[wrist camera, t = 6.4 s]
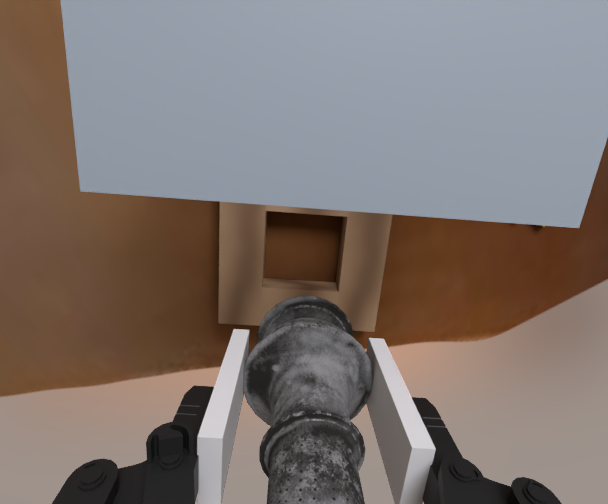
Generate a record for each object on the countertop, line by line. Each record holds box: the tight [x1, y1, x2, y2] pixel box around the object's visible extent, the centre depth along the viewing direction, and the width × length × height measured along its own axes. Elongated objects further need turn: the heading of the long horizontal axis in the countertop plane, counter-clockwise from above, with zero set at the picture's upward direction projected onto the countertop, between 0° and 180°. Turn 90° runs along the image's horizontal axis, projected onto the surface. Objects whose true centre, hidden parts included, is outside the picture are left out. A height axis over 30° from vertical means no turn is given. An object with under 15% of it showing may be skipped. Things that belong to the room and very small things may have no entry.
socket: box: [218, 202, 393, 332], centre depth 34 cm, size 16×20×3 cm
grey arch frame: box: [61, 0, 608, 228], centre depth 22 cm, size 18×8×22 cm, turn 85°
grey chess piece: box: [243, 296, 373, 504], centre depth 13 cm, size 6×6×12 cm
